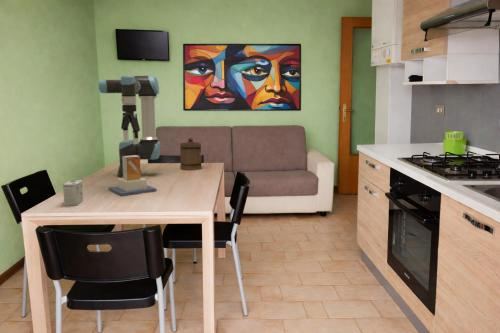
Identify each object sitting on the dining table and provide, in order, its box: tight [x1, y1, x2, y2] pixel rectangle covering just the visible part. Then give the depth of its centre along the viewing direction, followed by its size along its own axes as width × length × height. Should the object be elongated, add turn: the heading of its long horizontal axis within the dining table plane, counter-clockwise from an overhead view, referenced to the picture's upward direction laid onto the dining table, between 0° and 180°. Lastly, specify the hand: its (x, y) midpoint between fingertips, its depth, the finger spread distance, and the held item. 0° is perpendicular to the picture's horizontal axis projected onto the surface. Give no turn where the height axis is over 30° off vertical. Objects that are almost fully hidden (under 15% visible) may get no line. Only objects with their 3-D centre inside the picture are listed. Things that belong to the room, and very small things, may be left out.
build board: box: [107, 177, 157, 197], centre depth 266 cm, size 20×20×6 cm
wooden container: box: [179, 137, 202, 171], centre depth 339 cm, size 15×15×22 cm
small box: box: [122, 155, 142, 181], centre depth 264 cm, size 8×6×13 cm
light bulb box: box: [62, 179, 84, 207], centre depth 237 cm, size 11×7×11 cm, turn 5°
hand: (131, 143), depth 264 cm, fingers open, 13 cm apart
